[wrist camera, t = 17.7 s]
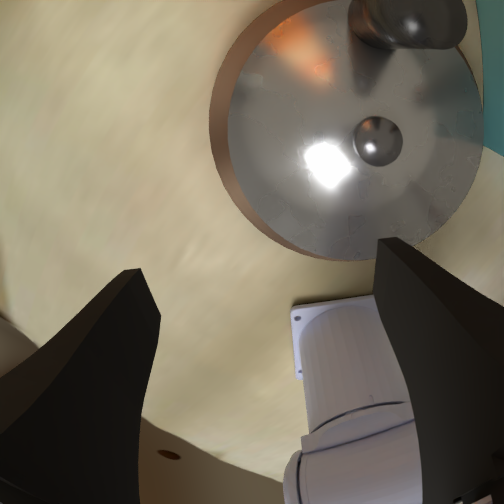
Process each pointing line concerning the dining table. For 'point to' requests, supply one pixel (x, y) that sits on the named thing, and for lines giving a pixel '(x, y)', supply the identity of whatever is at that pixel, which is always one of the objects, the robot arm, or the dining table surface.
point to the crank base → (220, 106)
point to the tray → (492, 71)
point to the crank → (358, 124)
